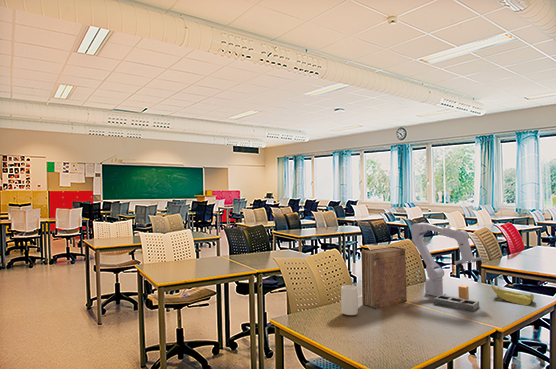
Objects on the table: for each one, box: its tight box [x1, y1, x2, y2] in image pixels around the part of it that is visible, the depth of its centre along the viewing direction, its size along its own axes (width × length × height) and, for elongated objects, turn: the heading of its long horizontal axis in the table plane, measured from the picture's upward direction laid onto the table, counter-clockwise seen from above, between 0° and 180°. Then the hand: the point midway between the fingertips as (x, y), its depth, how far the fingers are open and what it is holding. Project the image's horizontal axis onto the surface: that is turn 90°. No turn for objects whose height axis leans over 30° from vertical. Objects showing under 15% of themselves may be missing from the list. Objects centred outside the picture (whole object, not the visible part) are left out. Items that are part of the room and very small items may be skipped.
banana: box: [491, 284, 535, 306], centre depth 205 cm, size 20×7×10 cm
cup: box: [340, 284, 359, 316], centre depth 187 cm, size 8×8×14 cm
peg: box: [458, 284, 470, 300], centre depth 206 cm, size 4×4×8 cm
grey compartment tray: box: [433, 294, 480, 313], centre depth 198 cm, size 20×10×3 cm, turn 45°
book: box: [360, 246, 408, 310], centre depth 205 cm, size 25×9×30 cm, turn 121°
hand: (472, 275), depth 203 cm, fingers open, 7 cm apart
